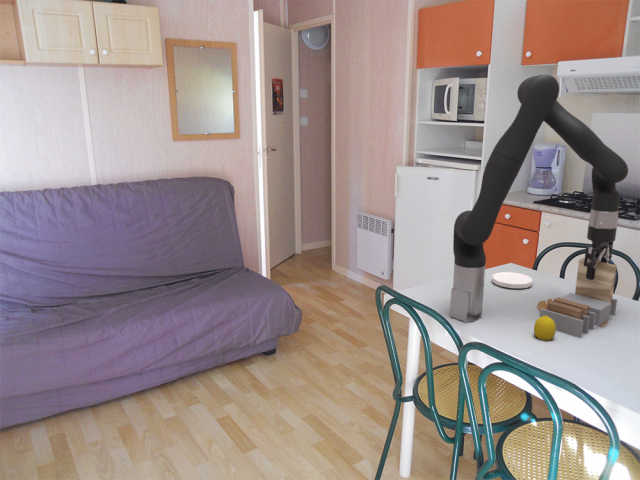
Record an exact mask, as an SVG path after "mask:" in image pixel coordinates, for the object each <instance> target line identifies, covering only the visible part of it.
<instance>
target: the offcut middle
mask: <svg viewBox="0 0 640 480" xmlns="http://www.w3.org/2000/svg"><path fill="white" fill-rule="evenodd" d="M561 298H562V297H557V298H555V299H553V301H554V302H558V303H561V304H565V305H569V306H572V307H576V308H579V309H583V315H585V316H588V314H589V306H587V305H584V304H580V303H576V302H573V301H569V300H565V299H561Z"/></svg>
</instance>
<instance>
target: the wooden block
mask: <svg viewBox="0 0 640 480" xmlns="http://www.w3.org/2000/svg"><path fill="white" fill-rule="evenodd" d="M584 259H585V257H584V258H580V259H579V260H578V266H577V272H576V273H577V275H576V281H575V282H576V283H575V291H574V294H578V295H582V296H586V297H589V298H593V299H597V300H601V301H605V302H609V303H612V298H613V296H614V289H615V282H616V275H617V266H618V265H616V264H611V263H608V262H607V263H603V262H598V263H597V266H596V271H595V278H594V280H589V279H586V273H587V267H586V266H584ZM594 262H595V261H594ZM590 263H591V262H590Z"/></svg>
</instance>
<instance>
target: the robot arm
mask: <svg viewBox="0 0 640 480" xmlns="http://www.w3.org/2000/svg"><path fill="white" fill-rule="evenodd" d="M559 84H560V83H559V82H558V79H556V77H554V76H553V75H551V74H538V75H534V76H531V77H527V78H526V79H524V80H523V81H522V82H521V83H520V84H519V86H518V89H517V99H518V101H519V103H520V106H519V109H518V112H517V114H516V116H515V118H514V120H513V121H512V123H511V124H510V126H509V127H508V128H507V129H506V131H504V133H503V135H501V136H500V138H499V140H498V141H497V143H496V144H495V146H494V147H493V149H492V151H491V154H490V156H489V157H488V160H487V162H486V164H485V166H484V170H483V174H482V179H481V185H480V191H479V195H478V196H477V199H476V202H475V203H474V205H473V207H472V209H471V210H465V211H463V212H461V213H460V214H459V215H457V217H456V219H455V220H454V221H455V222H454V225H453V240H452V241H453V247H452V249H453V250H452V251H453V256H454V262H453V263H454V265H453V280H452V281H453V283H452V287H451V290H450V291H451V292H450V307H449V308H450V310H449V317H450V318H454V319H457V320H458V321H462V322H465V323H467V322H468V323H469V322H476V321H478V320H481V319H482V318H483V317H482V316H483V303H484V293H485V292H484V291H485V290H484V288H485V277H486V275H485V274H486V264H487V262H486V261H487V256H486V253H485V249H484V243H485V242H486V241H487V240H489V238H490V236H491V234H492V232H493V229H494V226H495V223H496V221H497V219H498V215H499V213H500V210H501V208H502V205H503V203H504V201H505V200H506V198H507V196H508V194H509V192H510V190H511V188H512V186H513V185H514V182H515V180H516V178H517V176H518V175H519V173H520V171H521V168H522V166H523V165H524V162H525V159H526V158H527V156H528V153H529V151H530V149H531V147H532V144H534V140H535V138H536V136H537V134H538V131H539V130H540V127H541V126H542V124H543V123H544V122H545V123H546V125H547V126H549V127H550V128H551V129H552V130H553V131H554V132H555V133H556V134H557V135H558V136H559V137H560V138H561V139H562V140H563V141H564V142H565V143H566V144H567V145H568V146H569V147H570V149H572V151H574V153H575V154H576V155H577V156H578V157H579V158H580V159H581V160H583V161H584V162H586V163H588V164H590V165H591V166H592V169H591V185H592V192H593V193H592V194H593V195H592V201H591V209H590V213H589V217H588V219H589V220H588V224H587V225H588V226H587V234H586V238H587V239H588V240H589V241H591V246H586V248H585V255H584V266H586V267H587V273H586V279H589V280H594V278H595V271H596V266H597V263H598V262H603V263H608V262H609V261H610V260H611V259H612V257H613V251H614V248H613V247H614V242H615V241H616V236H617V228H618V221H619V207H620V199H621V195H620V192H619V191H618V190H617V188H616V187H617V186H616V184H617V183H620V182H622V181H624V180H625V179H626V178H627V177H628V173H629V168H628V164H627V163H626V161H625V160H624V159H623V158H622V157H621V156H620V155H619V154H617V153H616V152H615V151H614V150H612V149H611V148H610V147H609V146H607V145H606V144H605V143H604V142H603V141H602V140H601V138H599V136H598V135H597V134H596V133H595V132H594V131H593V130H592V129H591V128H590V127H589V126H588V125H587V124H586V123H584V122H583V121H581V119H579V118H577V117H576V116H575V115H573V114H571V113H570V112H569V111H568V110H567V109H566V108H565V107H564V106H562V104H561V103H560V102H559V101H558V97H559V93H560V85H559ZM594 261H595V262H594ZM590 262H591V263H590Z"/></svg>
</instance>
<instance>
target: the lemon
mask: <svg viewBox="0 0 640 480" xmlns="http://www.w3.org/2000/svg"><path fill="white" fill-rule="evenodd" d="M556 331H557V330H556V326H555V322H554V321H553V319H551V318H550V317H548V316H547V315H545V316H542V317H540V316H539V317H538V318H537V319H536V321H535V322H534V325H533V332H534V336H535V337H536V338H537V339H538V340H542V341H551V340H552V339H553V338H554V337H555V335H556Z"/></svg>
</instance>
